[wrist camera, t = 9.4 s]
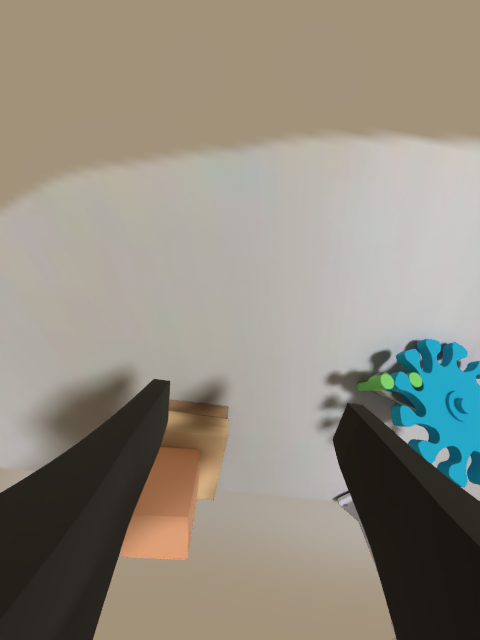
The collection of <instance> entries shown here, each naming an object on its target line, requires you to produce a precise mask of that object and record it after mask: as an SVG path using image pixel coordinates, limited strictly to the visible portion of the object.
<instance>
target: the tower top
mask: <svg viewBox="0 0 480 640" xmlns="http://www.w3.org/2000/svg"><path fill="white" fill-rule="evenodd" d="M228 423H229V419H224V418H217V417H210V416H203V415H196V414H189V413H182V412H175V411H169V416H168V423H167V427H166V430H165V434H164V437H163V440H162V444H161V447H170V448H188V449H200V458H199V488H198V494H197V498H199V499H207V500H214V496H215V492H216V488H217V483H218V479H219V474H220V470H221V465H222V461H223V456H224V452H225V448H226V443H227V439H228Z"/></svg>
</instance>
